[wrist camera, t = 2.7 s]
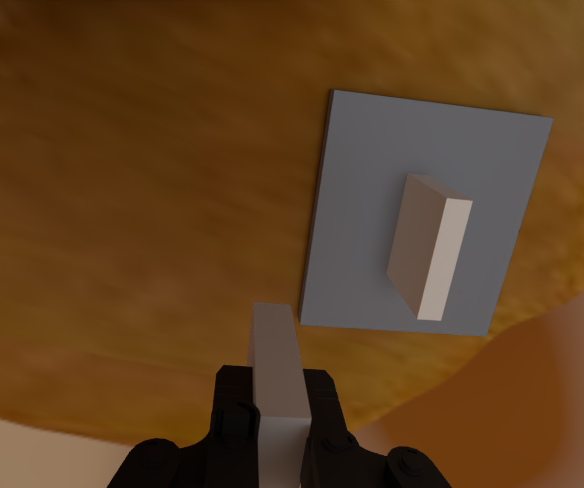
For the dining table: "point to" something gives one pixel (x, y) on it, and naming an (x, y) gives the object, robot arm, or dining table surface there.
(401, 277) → the tile
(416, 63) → the dining table surface
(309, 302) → the board
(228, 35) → the dining table surface
